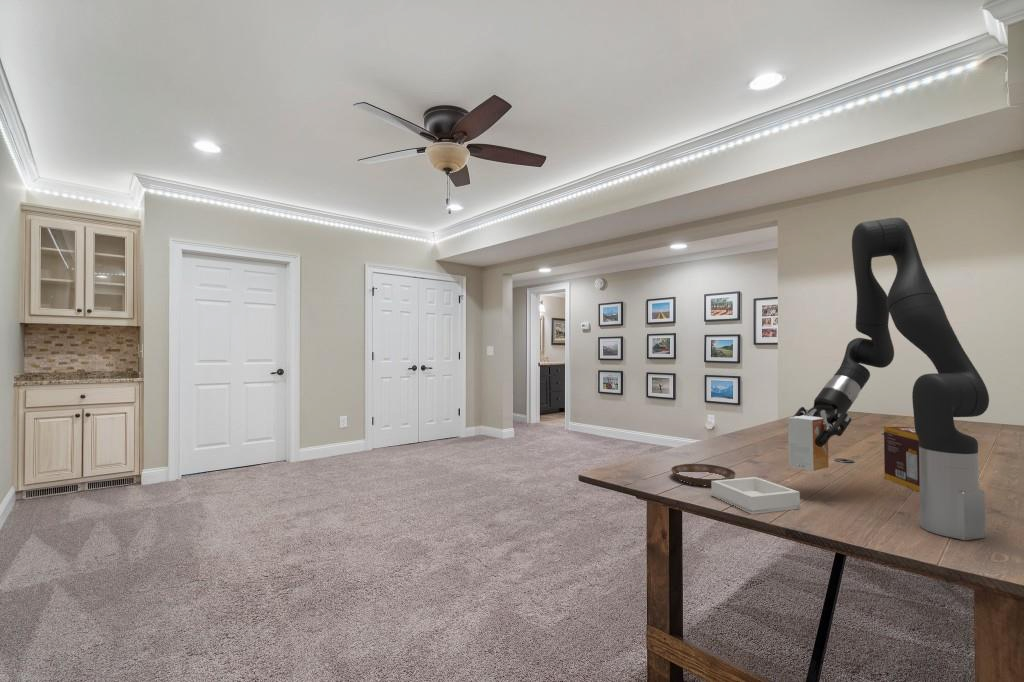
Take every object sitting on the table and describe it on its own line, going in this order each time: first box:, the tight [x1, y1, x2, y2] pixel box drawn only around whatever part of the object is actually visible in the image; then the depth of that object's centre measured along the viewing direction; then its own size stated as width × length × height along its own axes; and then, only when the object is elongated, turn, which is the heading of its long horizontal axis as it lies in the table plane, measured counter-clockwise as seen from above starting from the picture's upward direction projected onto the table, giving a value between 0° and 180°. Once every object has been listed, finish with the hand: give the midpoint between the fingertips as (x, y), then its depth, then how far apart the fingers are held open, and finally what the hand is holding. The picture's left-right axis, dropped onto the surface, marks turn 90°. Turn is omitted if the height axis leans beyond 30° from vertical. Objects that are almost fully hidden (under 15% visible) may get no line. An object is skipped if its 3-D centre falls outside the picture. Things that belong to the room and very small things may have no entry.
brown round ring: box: [670, 463, 737, 487], centre depth 140 cm, size 18×18×3 cm
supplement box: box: [883, 425, 920, 493], centre depth 134 cm, size 10×15×16 cm
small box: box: [787, 415, 829, 472], centre depth 124 cm, size 8×6×13 cm
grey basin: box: [710, 476, 801, 515], centre depth 120 cm, size 14×14×4 cm
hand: (804, 441), depth 124 cm, fingers closed on small box, 8 cm apart
